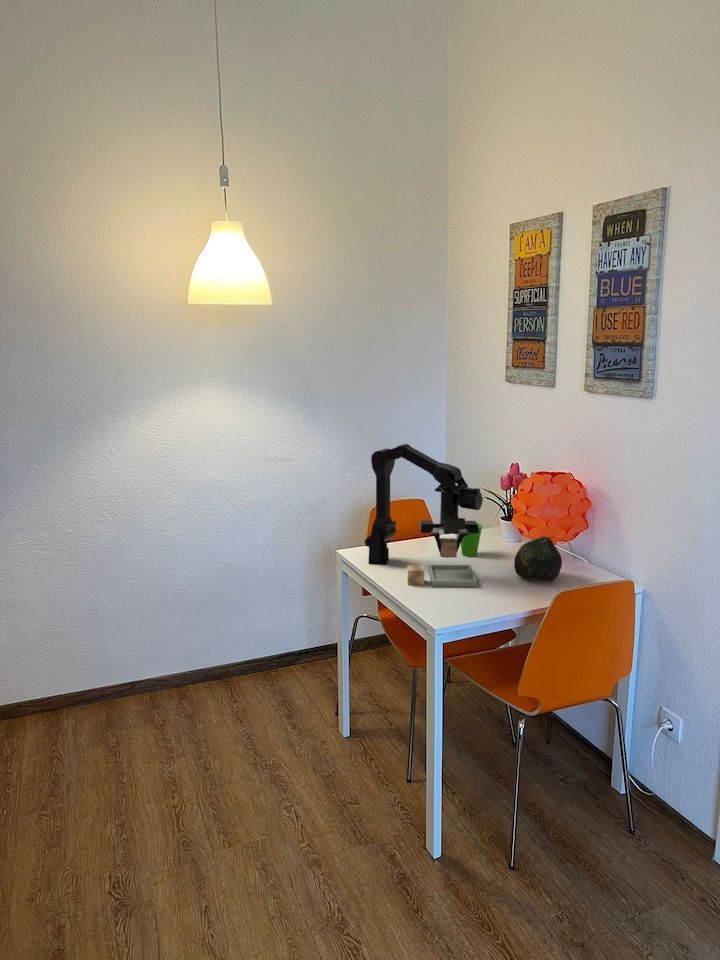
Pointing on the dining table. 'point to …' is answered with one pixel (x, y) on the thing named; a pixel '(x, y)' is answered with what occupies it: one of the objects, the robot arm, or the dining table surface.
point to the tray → (452, 576)
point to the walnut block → (448, 547)
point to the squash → (538, 560)
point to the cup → (471, 543)
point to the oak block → (416, 575)
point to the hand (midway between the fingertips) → (448, 552)
